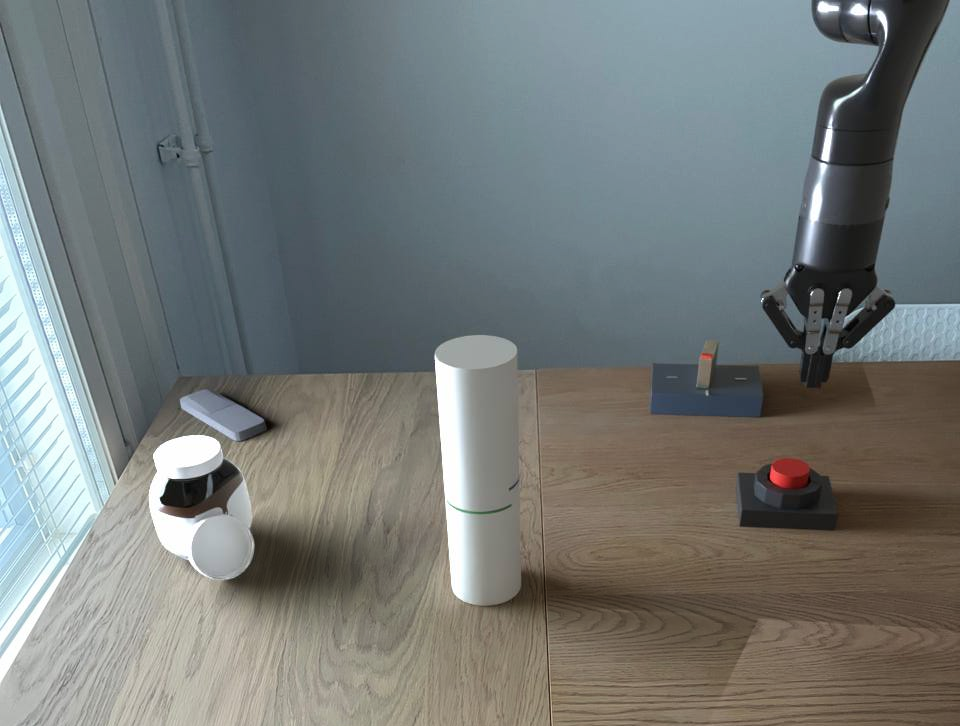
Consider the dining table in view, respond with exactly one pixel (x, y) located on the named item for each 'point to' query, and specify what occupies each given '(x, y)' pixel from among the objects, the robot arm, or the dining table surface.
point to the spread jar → (202, 507)
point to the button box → (785, 502)
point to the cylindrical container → (481, 465)
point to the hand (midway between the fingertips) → (811, 384)
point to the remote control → (223, 414)
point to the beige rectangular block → (707, 364)
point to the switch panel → (706, 391)
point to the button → (789, 473)
